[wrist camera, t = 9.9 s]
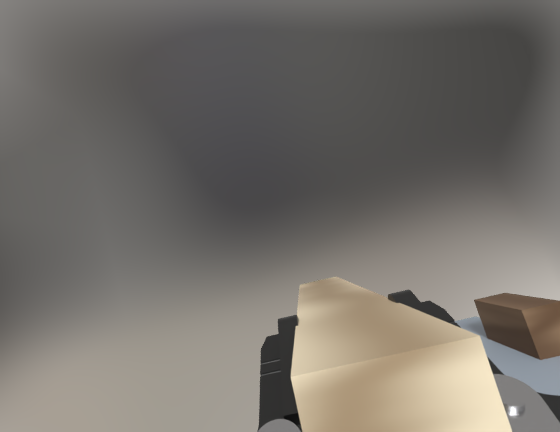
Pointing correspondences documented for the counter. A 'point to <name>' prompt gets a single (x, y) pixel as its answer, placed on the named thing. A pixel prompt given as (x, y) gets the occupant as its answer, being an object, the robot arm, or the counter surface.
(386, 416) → the birch bar
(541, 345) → the walnut crosspiece
